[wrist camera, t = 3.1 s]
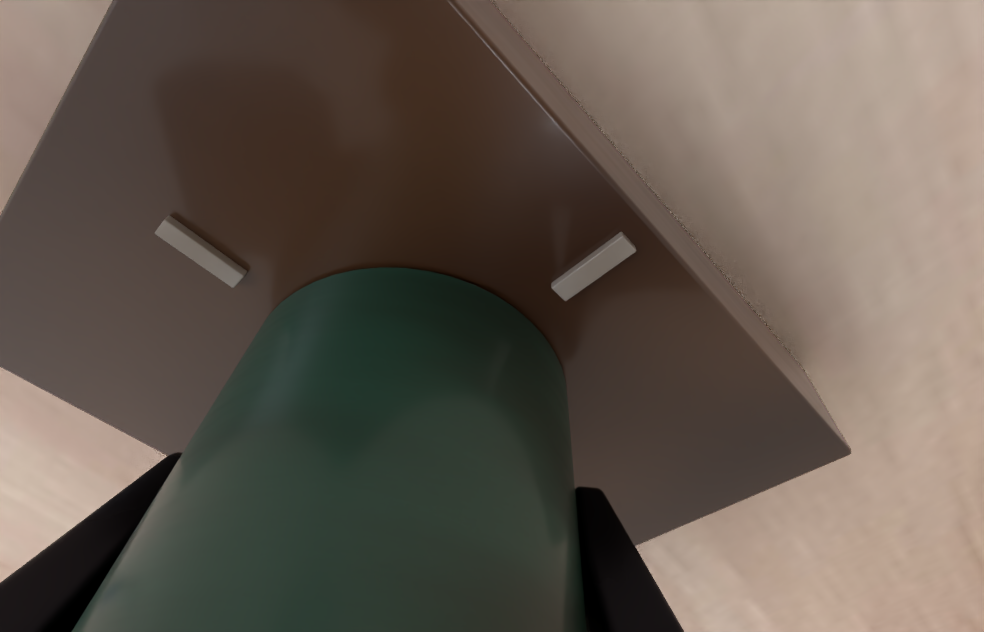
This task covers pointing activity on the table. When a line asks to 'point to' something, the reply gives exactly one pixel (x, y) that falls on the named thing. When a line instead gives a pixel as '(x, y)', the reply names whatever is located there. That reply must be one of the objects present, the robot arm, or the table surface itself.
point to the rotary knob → (368, 477)
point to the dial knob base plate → (380, 235)
